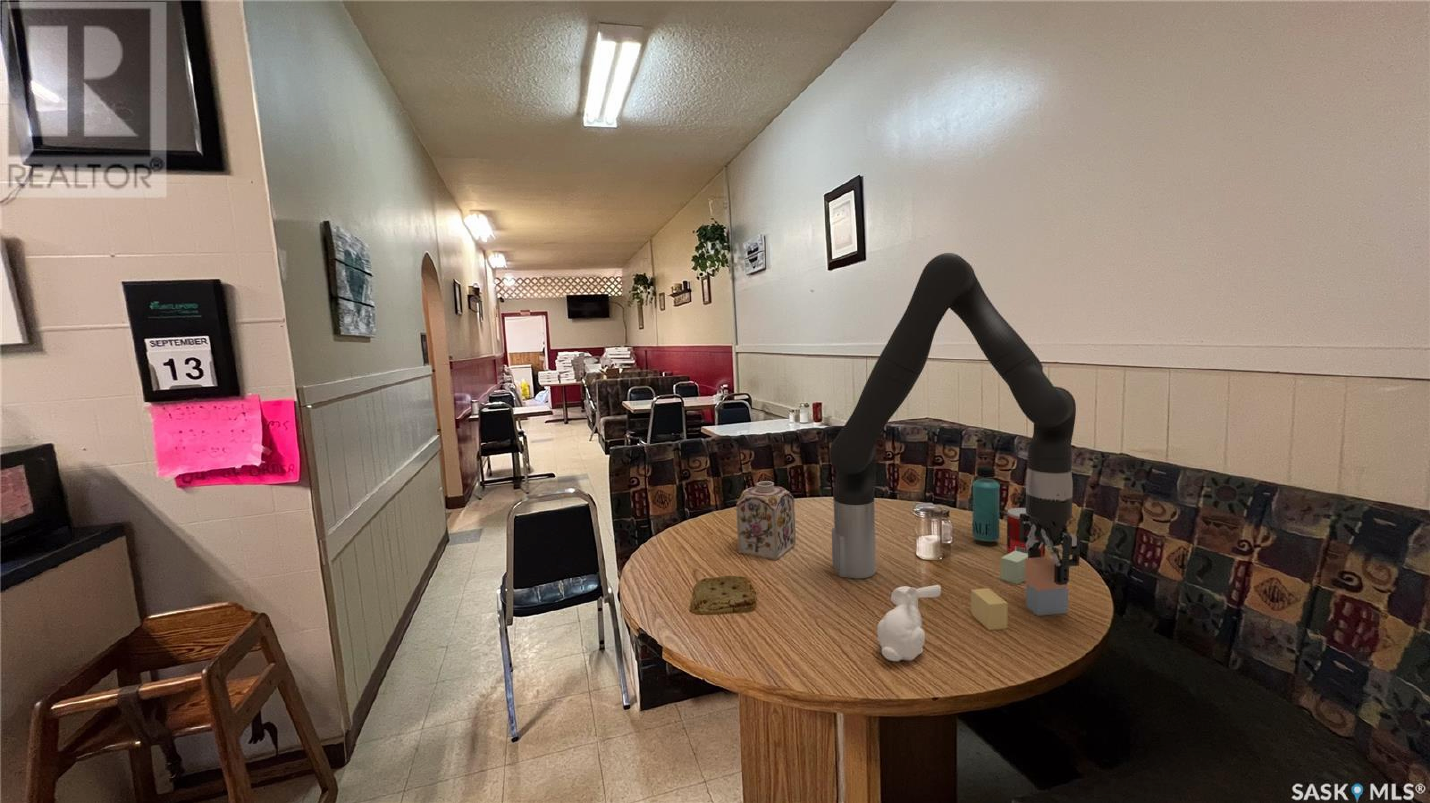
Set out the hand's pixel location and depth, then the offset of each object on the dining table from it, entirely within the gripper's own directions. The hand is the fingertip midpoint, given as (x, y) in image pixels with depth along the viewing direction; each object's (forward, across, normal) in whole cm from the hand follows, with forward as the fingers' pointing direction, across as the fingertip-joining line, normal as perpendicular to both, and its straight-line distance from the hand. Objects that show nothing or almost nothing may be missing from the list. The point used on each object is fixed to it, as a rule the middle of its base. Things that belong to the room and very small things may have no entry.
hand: (1047, 575), depth 104 cm
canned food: (+7, -24, +12) cm, 28 cm away
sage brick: (+7, -14, +3) cm, 16 cm away
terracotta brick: (+2, 0, 0) cm, 2 cm away
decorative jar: (+7, -41, -48) cm, 64 cm away
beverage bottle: (+7, -34, +8) cm, 36 cm away
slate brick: (+7, 0, 0) cm, 7 cm away
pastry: (+8, -16, -62) cm, 64 cm away
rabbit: (+7, +8, -32) cm, 34 cm away
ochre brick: (+7, +2, -13) cm, 15 cm away
